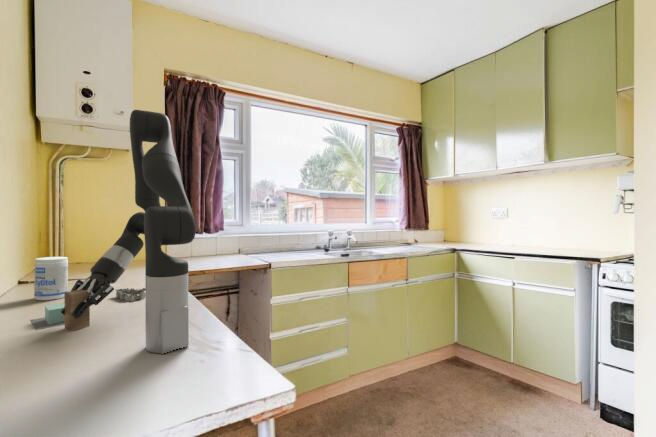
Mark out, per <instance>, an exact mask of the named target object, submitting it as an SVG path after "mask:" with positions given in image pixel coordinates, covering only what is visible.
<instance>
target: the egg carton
mask: <svg viewBox="0 0 656 437" xmlns="http://www.w3.org/2000/svg"><path fill="white" fill-rule="evenodd" d="M114 291H115V298H116V299H120V300H123V301H125V302H130V301H131V302H135V301H138V300H137V299H142V300H144V299H146V287H142V288H140V289H138V288H136V289H135V288H133V287H132V288H128V287H126V288H120V289H119V288H114Z"/></svg>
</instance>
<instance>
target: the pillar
mask: <svg viewBox="0 0 656 437" xmlns="http://www.w3.org/2000/svg"><path fill="white" fill-rule="evenodd" d="M87 292H88V291H87V290H75V291H71V290H70V291H68V292H65V293H64V297H63V298H64V303H65V325H64V330H65V329H66V330H70V331H77V330H80V329H81V330H82V329H84V328H87V327H90V326H91V325H90V323H91V322H90V320H91V319H90V313H91V312H90V311H91V310H90V309H91V308H90V307H91V306H89V307H88V308H87V309H86V311H85V312H84V313H83V314H82V315H81V317H80V318H75V317H74V316H72V315H71V314H72V312H73V311H74V310H75V309H76V308H77V306H78V305H79V304H80V303H81V302H83V299H84V298H85V296H86V295H87Z"/></svg>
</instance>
